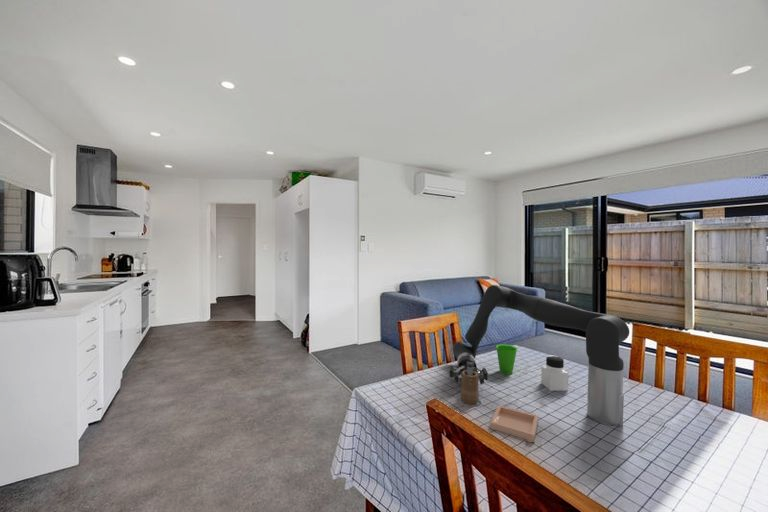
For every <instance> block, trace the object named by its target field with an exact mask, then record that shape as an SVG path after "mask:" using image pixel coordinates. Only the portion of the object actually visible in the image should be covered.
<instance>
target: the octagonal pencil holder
mask: <svg viewBox="0 0 768 512" xmlns="http://www.w3.org/2000/svg"><path fill="white" fill-rule="evenodd" d="M478 375H479V374H478V373H477V372H475V371H473V376H469V375H467V370H465V371H463V372H462V374H461V378H460V379H461V380H460V381H461V383H460V388H461V390H460V391H461V392H460V397H461V401H462V402H463V403H464V404H468V405H476V404H477V403H478V399H479V379H478Z"/></svg>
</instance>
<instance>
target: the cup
mask: <svg viewBox="0 0 768 512" xmlns="http://www.w3.org/2000/svg"><path fill="white" fill-rule="evenodd" d="M495 348H496V353H497V361H498V369H499V372H500V373H501V374H503V375H512V374H513V373H514V372H513V370H514V367H515V361H516V356H517V351H518V348H517V347H516V346H514V345H511V344H497V345H496V346H495Z"/></svg>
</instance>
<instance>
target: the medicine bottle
mask: <svg viewBox="0 0 768 512" xmlns="http://www.w3.org/2000/svg"><path fill="white" fill-rule="evenodd" d="M545 361H546V362H545V365H541V368H540V369H541V372H540V374H541V375H540V379H541V380H540V383H541V384H542V385H543V386H544V387H545V388H546V389H547V390H548V391H550V392H551V391H552V392H553V391H554V392H555V391H558V392H561V391H562V392H568V391H569V372H567V371H566V370H565V369H564V367H565V366H564V359H563V358H562V357H560V356H557V355H547V356H546V358H545Z"/></svg>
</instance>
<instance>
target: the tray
mask: <svg viewBox="0 0 768 512" xmlns="http://www.w3.org/2000/svg"><path fill="white" fill-rule="evenodd" d="M489 424H490V426H489V428H490V429H492V430H494V431H497V432H501V433H504V434H508V435H512V436H515V437H518V438H521V439H524V440H525V441H526V442H527V441H528V443H531V442H534V443H535V439H536V435H537V430H538V426H539V415H537V414H533V413H530V412H526V411H522V410H519V409H514V408H511V407H508V406H507V407H506V406H502V405H501V404H500V405H499V404H498V405H497V407H496V409H495V412H494V413H493V416H492V417H491V419H490V423H489Z"/></svg>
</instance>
